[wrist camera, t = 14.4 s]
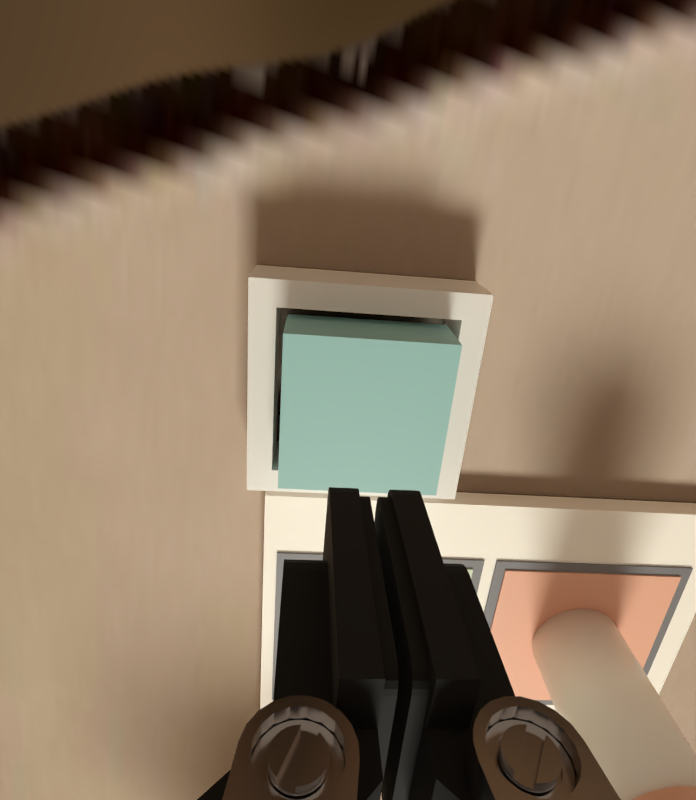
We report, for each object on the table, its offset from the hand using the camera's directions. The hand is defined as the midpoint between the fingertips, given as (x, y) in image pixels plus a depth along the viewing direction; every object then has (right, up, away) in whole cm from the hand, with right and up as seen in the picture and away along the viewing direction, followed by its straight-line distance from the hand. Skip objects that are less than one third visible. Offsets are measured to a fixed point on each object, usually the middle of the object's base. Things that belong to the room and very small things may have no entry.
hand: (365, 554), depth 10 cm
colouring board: (+5, -7, +13) cm, 16 cm away
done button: (0, +3, +7) cm, 8 cm away
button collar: (0, +4, +8) cm, 9 cm away
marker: (+9, -7, +13) cm, 17 cm away
